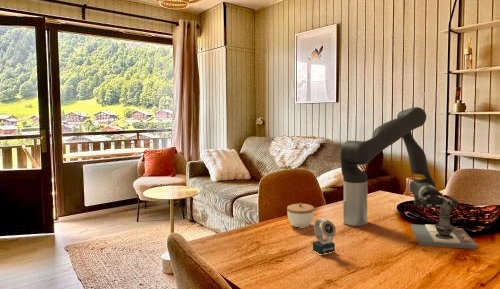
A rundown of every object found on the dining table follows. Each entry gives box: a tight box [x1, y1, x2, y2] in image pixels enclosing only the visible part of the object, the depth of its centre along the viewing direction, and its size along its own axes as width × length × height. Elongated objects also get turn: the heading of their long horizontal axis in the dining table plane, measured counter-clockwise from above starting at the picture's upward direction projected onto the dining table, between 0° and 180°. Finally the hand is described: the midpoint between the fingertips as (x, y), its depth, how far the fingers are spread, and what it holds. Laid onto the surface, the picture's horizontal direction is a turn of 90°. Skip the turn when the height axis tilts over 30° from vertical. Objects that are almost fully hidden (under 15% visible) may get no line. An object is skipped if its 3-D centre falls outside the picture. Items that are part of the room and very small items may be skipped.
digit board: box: [410, 223, 478, 250], centre depth 125 cm, size 17×18×2 cm
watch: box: [312, 217, 336, 254], centre depth 115 cm, size 6×8×11 cm
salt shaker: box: [434, 202, 455, 239], centre depth 120 cm, size 6×6×12 cm
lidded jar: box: [286, 202, 315, 229], centre depth 141 cm, size 11×11×9 cm
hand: (438, 206), depth 128 cm, fingers open, 8 cm apart
